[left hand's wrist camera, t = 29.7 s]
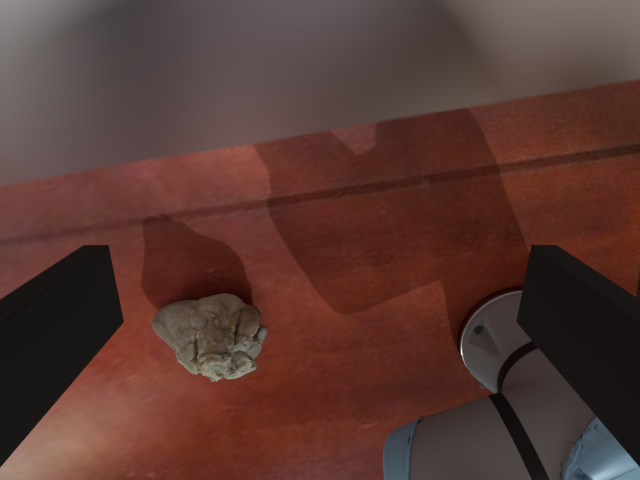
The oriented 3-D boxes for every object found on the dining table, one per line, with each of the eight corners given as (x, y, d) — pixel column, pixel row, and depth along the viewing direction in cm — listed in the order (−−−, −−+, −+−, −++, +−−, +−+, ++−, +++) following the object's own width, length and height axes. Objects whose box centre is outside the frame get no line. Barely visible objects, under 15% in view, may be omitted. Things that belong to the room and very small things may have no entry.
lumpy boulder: (161, 269, 53) (261, 278, 48) (195, 320, 60) (285, 333, 55) (106, 341, 45) (218, 362, 40) (152, 390, 52) (252, 413, 47)
